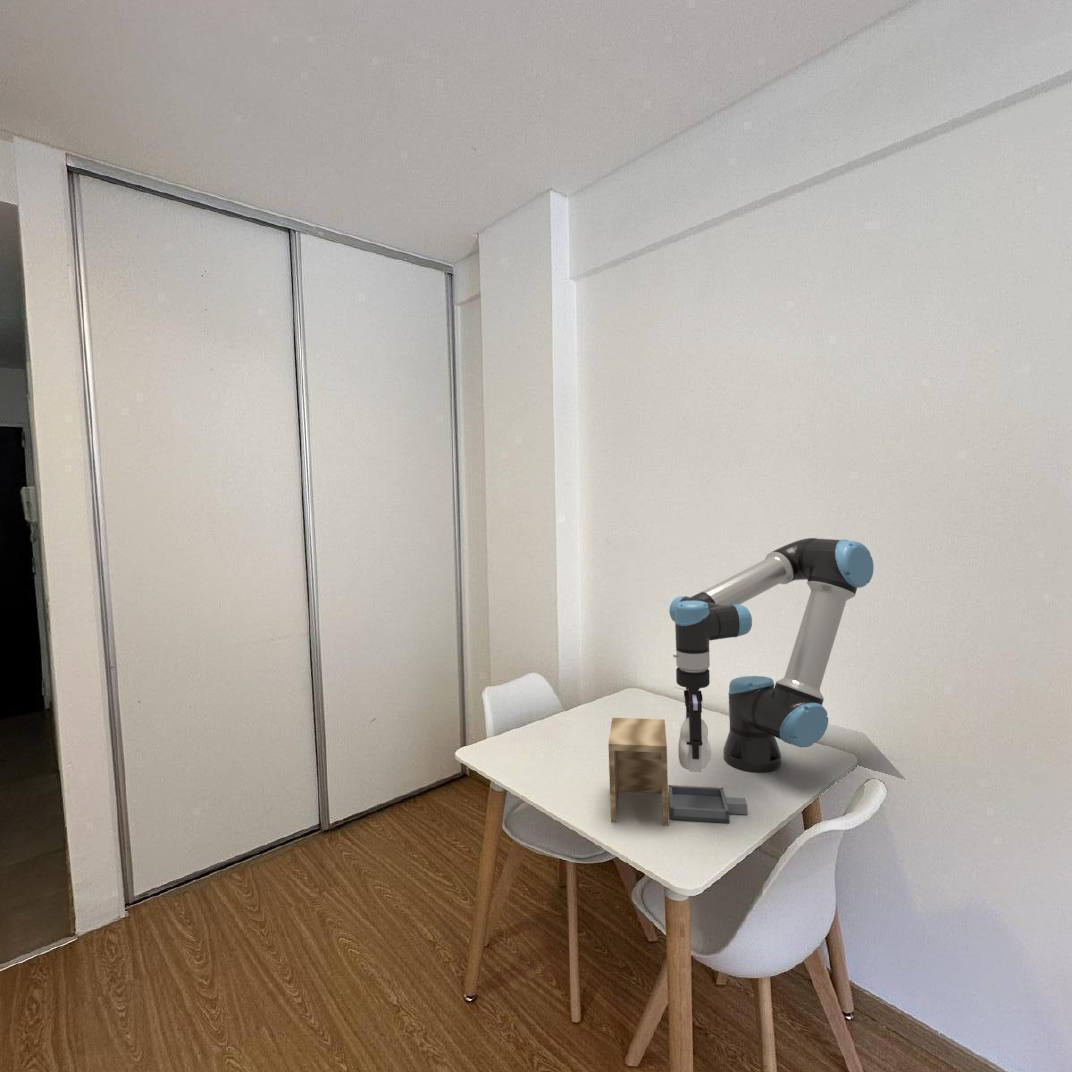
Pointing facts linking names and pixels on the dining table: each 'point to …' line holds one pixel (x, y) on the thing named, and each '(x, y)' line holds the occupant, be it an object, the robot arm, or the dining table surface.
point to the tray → (703, 804)
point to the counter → (638, 760)
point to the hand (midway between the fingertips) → (694, 762)
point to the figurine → (684, 747)
